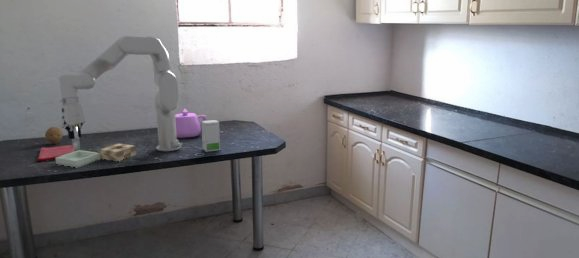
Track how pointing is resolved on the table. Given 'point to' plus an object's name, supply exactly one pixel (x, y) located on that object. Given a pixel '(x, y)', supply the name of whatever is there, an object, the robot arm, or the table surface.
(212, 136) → the skincare box
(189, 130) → the teapot
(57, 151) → the dish towel
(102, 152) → the hitch block
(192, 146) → the table surface
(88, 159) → the tray
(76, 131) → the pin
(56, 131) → the natural sponge
